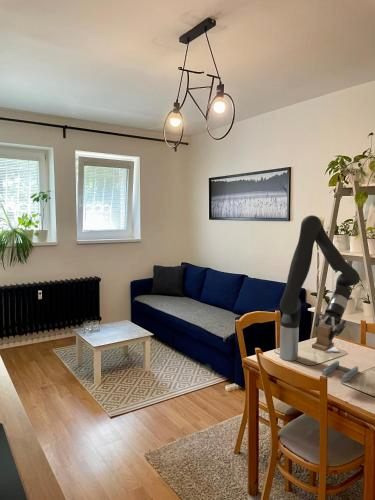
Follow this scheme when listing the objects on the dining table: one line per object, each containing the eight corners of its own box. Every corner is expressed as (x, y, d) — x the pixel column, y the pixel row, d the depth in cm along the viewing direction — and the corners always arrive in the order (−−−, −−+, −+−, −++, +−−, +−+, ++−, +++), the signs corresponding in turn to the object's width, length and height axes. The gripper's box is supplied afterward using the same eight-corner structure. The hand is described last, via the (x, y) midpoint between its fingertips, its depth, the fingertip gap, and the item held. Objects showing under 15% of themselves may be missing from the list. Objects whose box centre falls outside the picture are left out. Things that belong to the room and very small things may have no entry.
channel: (336, 365, 183) (336, 360, 183) (358, 371, 176) (358, 366, 176) (322, 375, 172) (322, 370, 171) (344, 382, 164) (345, 377, 164)
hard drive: (318, 342, 212) (324, 350, 200) (332, 342, 212) (339, 351, 199) (317, 345, 212) (324, 353, 200) (332, 345, 212) (339, 353, 199)
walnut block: (320, 342, 169) (322, 322, 168) (333, 346, 165) (335, 326, 164) (311, 347, 163) (313, 327, 161) (325, 351, 158) (326, 330, 157)
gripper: (319, 299, 173) (305, 329, 166) (350, 305, 163) (337, 337, 156) (323, 307, 177) (310, 337, 170) (354, 314, 167) (341, 346, 160)
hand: (323, 337), depth 163 cm, fingers closed on walnut block, 5 cm apart
